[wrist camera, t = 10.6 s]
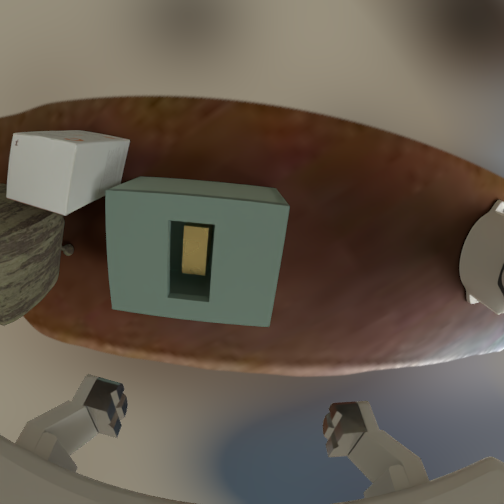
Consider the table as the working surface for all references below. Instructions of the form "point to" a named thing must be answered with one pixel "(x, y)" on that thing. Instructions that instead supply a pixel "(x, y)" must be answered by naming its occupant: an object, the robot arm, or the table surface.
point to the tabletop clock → (27, 255)
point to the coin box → (171, 249)
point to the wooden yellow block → (196, 247)
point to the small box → (64, 168)
